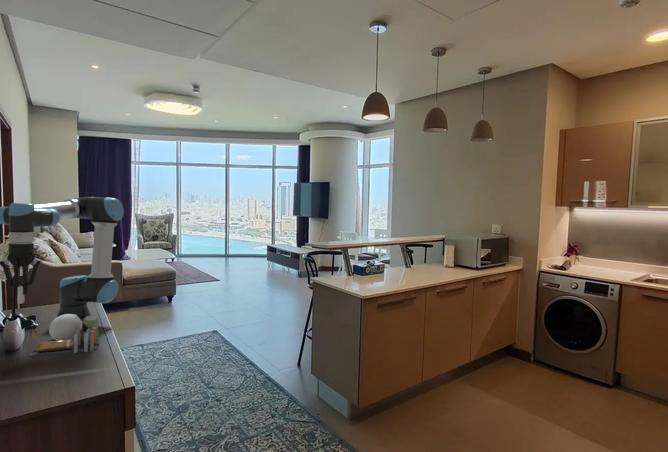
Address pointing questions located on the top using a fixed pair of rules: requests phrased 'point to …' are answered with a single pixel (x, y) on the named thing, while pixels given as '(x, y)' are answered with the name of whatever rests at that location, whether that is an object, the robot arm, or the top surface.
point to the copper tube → (55, 346)
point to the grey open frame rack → (62, 351)
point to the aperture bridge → (93, 338)
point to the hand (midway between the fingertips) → (21, 302)
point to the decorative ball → (65, 327)
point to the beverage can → (91, 325)
